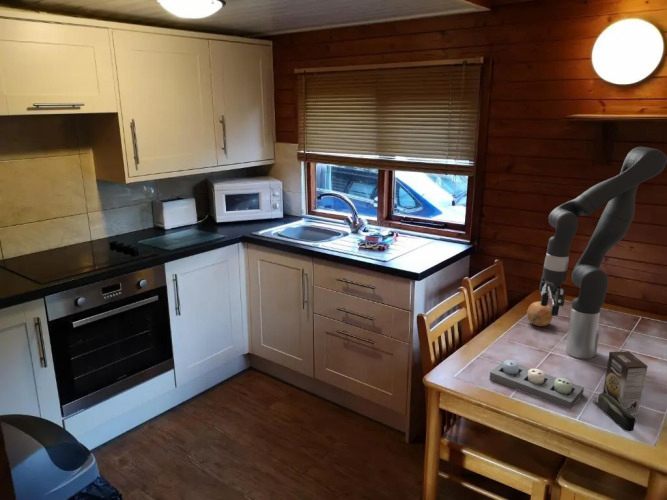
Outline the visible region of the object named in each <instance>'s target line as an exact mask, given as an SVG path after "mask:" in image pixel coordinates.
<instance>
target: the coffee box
mask: <svg viewBox="0 0 667 500" xmlns="http://www.w3.org/2000/svg"><path fill="white" fill-rule="evenodd" d="M605 371H606V372H605V377H604V383H603V389H602V390H603V391H602V393H606V394H608V395H610V396H612V397H613V398H614V399H615V400H616V401H617V402H618V403H619V404H620V405H621V406H622V407H623V408H625V409H626V410H627V411H628V412H629V413H630V414H631V415H637V414H639V411H640V405H641V400H642V395H643V390H644V387H645V386H644V385H645V381H646V376H647V371H648V365H647V364H646V363H644V362H643V361H641V360H640V359H639V358H638V357H637V356H635V355H634V354H633V353H631V352H630V351H628V350H626V351H619V350H617V351H609V353H608V360H607V365H606V370H605Z"/></svg>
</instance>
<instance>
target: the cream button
mask: <svg viewBox="0 0 667 500" xmlns="http://www.w3.org/2000/svg"><path fill="white" fill-rule="evenodd" d="M545 374H546V373H545V371H544V370H542V369H539V368H530V370H528V378H527V380H528V382H530V383H533V384H536V385H539V386H542V385H543V383H544V378H545Z"/></svg>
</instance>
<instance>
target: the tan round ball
mask: <svg viewBox="0 0 667 500" xmlns="http://www.w3.org/2000/svg"><path fill="white" fill-rule="evenodd" d="M551 310H552V307H551V306H550V305H549V303H548V304H547V306H541V301H534V302H532V303H531V304H530V305H529V306H528V309H527V310H526V316H527V319H528V322H530V323H531V324H533V325H535V326H537V327H545V326H547V325H549V324H550V323H551V321H553V318H554V316H552V315H551Z"/></svg>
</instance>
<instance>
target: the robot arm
mask: <svg viewBox="0 0 667 500" xmlns="http://www.w3.org/2000/svg"><path fill="white" fill-rule="evenodd" d="M666 166H667V155H666V154H665V152H663V151H662V150H660V149H657V148H653V147H652V148H651V147H647V146H637V147H634V148H632V149H631V150H630V151H629V152H628V153H627V155H626V157H625V158H624V160H623V163H622V166H621V170H620V172H619V174H617V175H615V176H613V177H610V178H608V179H606V180H603V181H601V182H599V183H597V184H595V185H592V186H591V187H589V188H588V189H587V190H585V191H583V192H582V193H581V194H580V195H578V196H577V197H575V198H574V199H571V200H568V201H567V202H564V203H562V204H560V205H559V206H556V207H555V208H554V209H552V211H551V212H550V213H549V215H548V223H549V226H551V227H553V228H554V229H555V233H554V235H553V236H551V237H550V238H549V239H548V243H547V248H546V255H545V258H544V263H543V270H542V276H541V277H540V284H539V288H538V291H539V293H540V295H541V299H540V302H541V306H547V304H548V305H549V303H548V302H549V300H551V303H552V304H551V309H552V310H551V315H552V316H553V317H554V316H555V317H557V316H559V310H560V307H564V305H565V299H566V298H565V297H566V289H565V288H562V283H563V284H564V283H565V282H566V280H567V274H568V267H569V261H570V260H569V259H570V257H569V255H570V251H571V244H572V242H573V239H574V237H575V235H576V232H577V231H578V227H579V220H578V218H579V217H582V216H585V217H586V216H589V215H591V214H593V213H594V212H596V211H597V210H599V209H600V208H601V207H603V206H604V205H606V206H605V207H604V209H603V211H602V213H601V215H600V218H599V220H598V222H597V225H596V227H595V229H594V232H593V234H592V235H591V237H590V240H589V241H588V244H587V245H586V248H585V250H583V251H584V252H583V253H582V254H581V256H580V258H579V259H578V261H577V262H576V264H575V266H574V268H573V270H572V273H571V281H572V283H573V284H574V285H576V287H578V288H579V294H578V297H575V298H574V299H572V301H571V309H570V317H569V321H568V322H569V324H568V328H567V329H568V331H567V337H566V345H565V352H566V353H567V354H568V355H569V356H571V357H574V358H577V359H583V360H584V359H587V360H588V359H591V358H593V357H597V352H598V346H599V340H600V333H601V332H600V331H599V330H598V328H599V322H600V315H601V308H602V307H603V305H604V303H605V300H606V296H607V290H608V285H609V278H608V277H609V276H608V274H607V273H606V272H605V271H604V269H603V270H602V269H601V267H600V266H601V264H602V262H603V260H604V258H605V256H606V255H607V253H608V252H609V251H610V250H611V249H612V248H613V247H614V246H616V245H617V244H618V243H620V241H621V240H623V238H624V237H625V236H626V234H627V233H628V231H629V229H630V226H631V224H632V223H633V220H634V216H635V211H636V210H635V209H636V207H635V206H636V194H637V189H638V187H639V185H640V184H642V183H644V182H646V181H649V180H651V179H653V178H654V177H656V176H658V175H660V174H661V173H662V172H663V171H664V169H665V168H666Z"/></svg>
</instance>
